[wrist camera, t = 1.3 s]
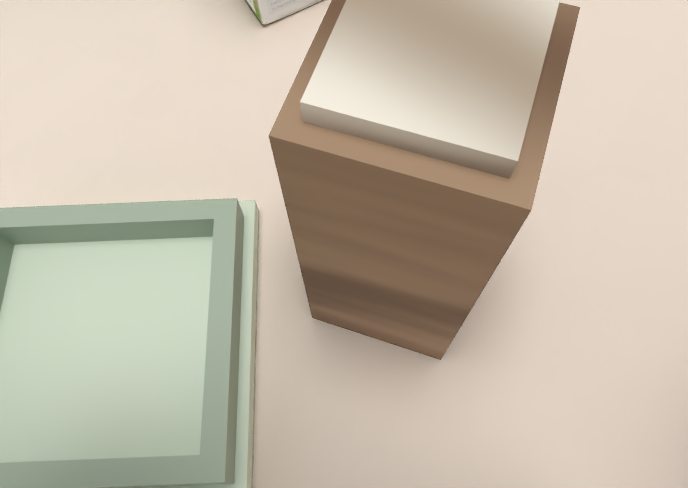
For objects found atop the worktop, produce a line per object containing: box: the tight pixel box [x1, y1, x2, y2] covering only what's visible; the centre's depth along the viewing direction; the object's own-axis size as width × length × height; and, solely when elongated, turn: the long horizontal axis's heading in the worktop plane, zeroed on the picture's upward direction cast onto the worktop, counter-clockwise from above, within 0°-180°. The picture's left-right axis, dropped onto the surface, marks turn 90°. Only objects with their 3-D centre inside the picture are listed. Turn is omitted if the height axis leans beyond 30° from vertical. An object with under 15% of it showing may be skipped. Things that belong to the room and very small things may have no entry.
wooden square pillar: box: [269, 0, 580, 360], centre depth 17 cm, size 5×5×13 cm
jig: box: [0, 198, 259, 488], centre depth 20 cm, size 11×10×2 cm
